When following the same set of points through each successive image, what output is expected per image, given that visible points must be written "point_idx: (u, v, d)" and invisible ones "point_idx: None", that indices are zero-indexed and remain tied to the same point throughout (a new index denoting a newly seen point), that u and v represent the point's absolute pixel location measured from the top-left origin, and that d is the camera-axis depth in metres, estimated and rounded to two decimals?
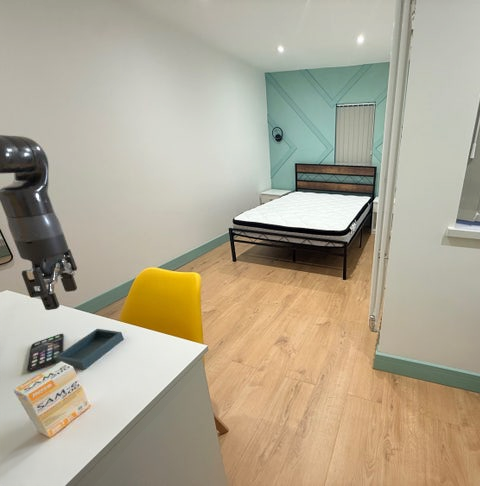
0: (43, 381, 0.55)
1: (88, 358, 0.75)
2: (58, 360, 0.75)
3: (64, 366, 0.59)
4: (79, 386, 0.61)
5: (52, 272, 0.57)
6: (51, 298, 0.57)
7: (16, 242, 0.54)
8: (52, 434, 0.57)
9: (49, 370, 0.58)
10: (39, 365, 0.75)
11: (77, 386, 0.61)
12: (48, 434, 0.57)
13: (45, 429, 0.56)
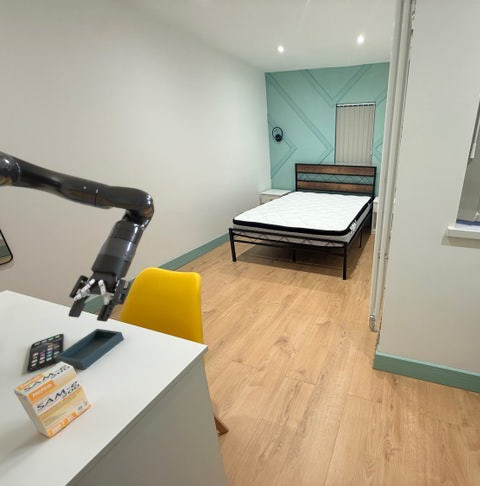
0: (43, 381, 0.55)
1: (88, 358, 0.75)
2: (58, 360, 0.75)
3: (64, 366, 0.59)
4: (79, 386, 0.61)
5: (115, 289, 0.68)
6: None
7: (115, 257, 0.68)
8: (52, 434, 0.57)
9: (49, 370, 0.58)
10: (39, 365, 0.75)
11: (77, 386, 0.61)
12: (48, 434, 0.57)
13: (45, 429, 0.56)
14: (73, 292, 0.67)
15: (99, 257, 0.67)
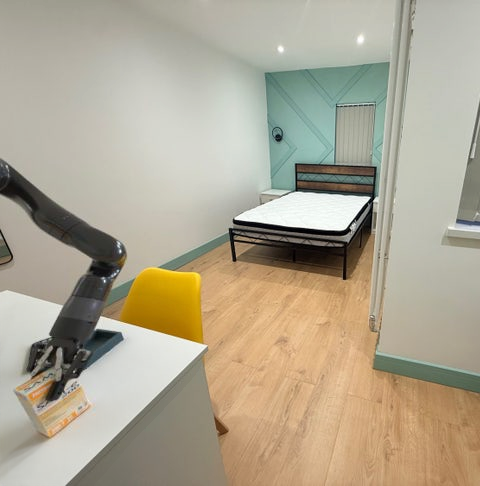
0: (43, 381, 0.55)
1: None
2: None
3: None
4: (79, 386, 0.61)
5: None
6: None
7: (77, 320, 0.60)
8: (52, 434, 0.57)
9: (49, 370, 0.58)
10: None
11: (77, 386, 0.61)
12: (48, 434, 0.57)
13: (45, 429, 0.56)
14: (30, 365, 0.58)
15: (58, 321, 0.59)
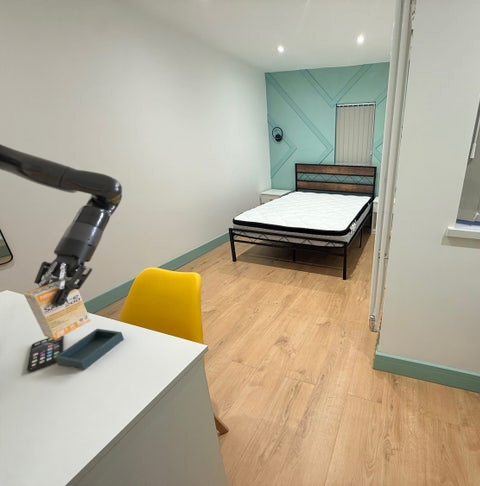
0: (49, 288, 0.64)
1: (88, 358, 0.75)
2: (58, 360, 0.75)
3: None
4: (80, 300, 0.70)
5: None
6: None
7: (78, 241, 0.68)
8: (57, 337, 0.66)
9: (54, 283, 0.67)
10: (39, 365, 0.75)
11: (78, 299, 0.69)
12: (53, 336, 0.65)
13: (51, 330, 0.65)
14: (38, 278, 0.67)
15: (62, 240, 0.68)
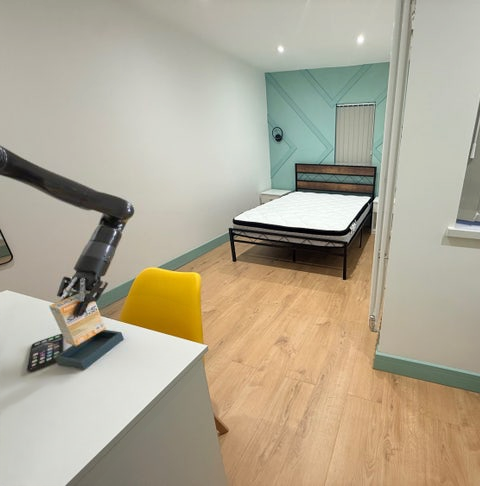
0: (71, 301, 0.73)
1: (88, 358, 0.75)
2: (58, 360, 0.75)
3: None
4: (97, 310, 0.79)
5: None
6: None
7: (95, 258, 0.77)
8: (77, 343, 0.75)
9: (74, 295, 0.76)
10: (39, 365, 0.75)
11: (95, 310, 0.78)
12: (75, 342, 0.74)
13: (72, 338, 0.74)
14: (60, 291, 0.76)
15: (81, 258, 0.76)
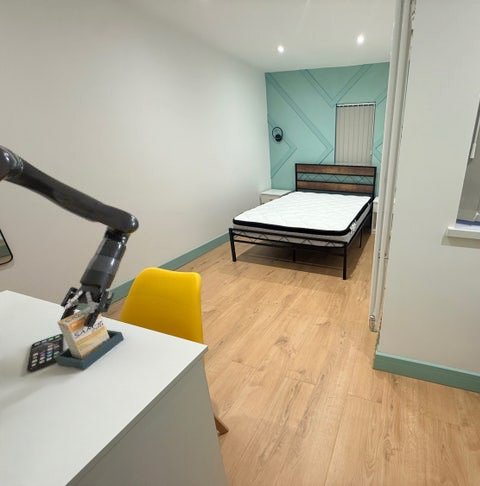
0: (78, 317, 0.75)
1: (88, 358, 0.75)
2: (58, 360, 0.75)
3: None
4: (103, 325, 0.81)
5: (100, 299, 0.79)
6: None
7: (101, 272, 0.79)
8: None
9: (81, 311, 0.78)
10: (39, 365, 0.75)
11: (101, 325, 0.80)
12: (81, 357, 0.76)
13: (79, 353, 0.76)
14: (64, 302, 0.78)
15: (86, 272, 0.78)
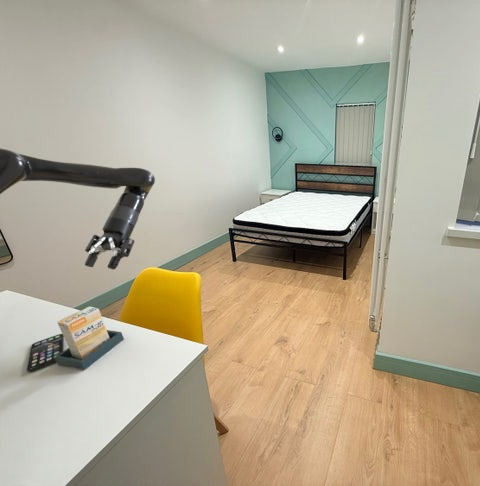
0: (78, 317, 0.75)
1: (88, 358, 0.75)
2: (58, 360, 0.75)
3: (92, 309, 0.79)
4: (103, 325, 0.81)
5: (121, 246, 0.85)
6: None
7: (122, 220, 0.85)
8: None
9: (81, 311, 0.78)
10: (39, 365, 0.75)
11: (101, 325, 0.80)
12: (81, 357, 0.76)
13: (79, 353, 0.76)
14: (88, 247, 0.84)
15: (109, 219, 0.84)
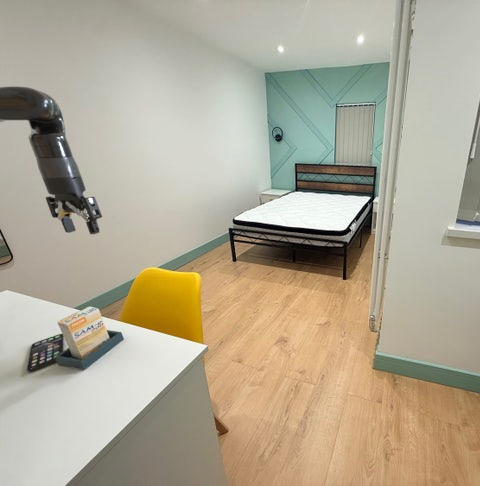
0: (78, 317, 0.75)
1: (88, 358, 0.75)
2: (58, 360, 0.75)
3: (92, 309, 0.79)
4: (103, 325, 0.81)
5: None
6: None
7: (61, 179, 0.67)
8: None
9: (81, 311, 0.78)
10: (39, 365, 0.75)
11: (101, 325, 0.80)
12: (81, 357, 0.76)
13: (79, 353, 0.76)
14: (53, 213, 0.73)
15: (46, 182, 0.66)
